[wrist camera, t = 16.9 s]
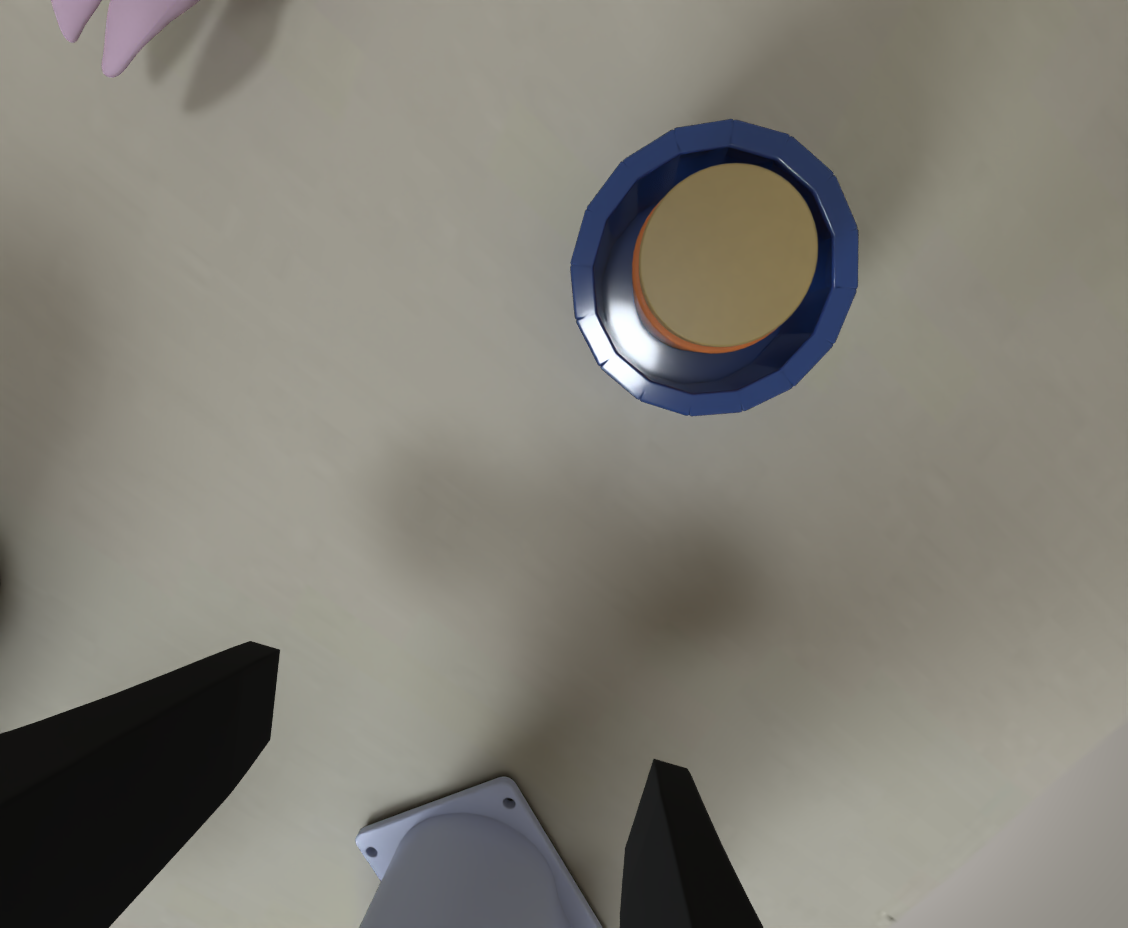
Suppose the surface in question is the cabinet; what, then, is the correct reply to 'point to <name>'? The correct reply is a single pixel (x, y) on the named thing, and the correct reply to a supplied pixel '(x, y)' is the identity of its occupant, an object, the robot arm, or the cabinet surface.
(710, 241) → the cream-capped orange cylinder
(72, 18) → the pink toy
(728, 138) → the cup
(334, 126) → the cabinet surface
